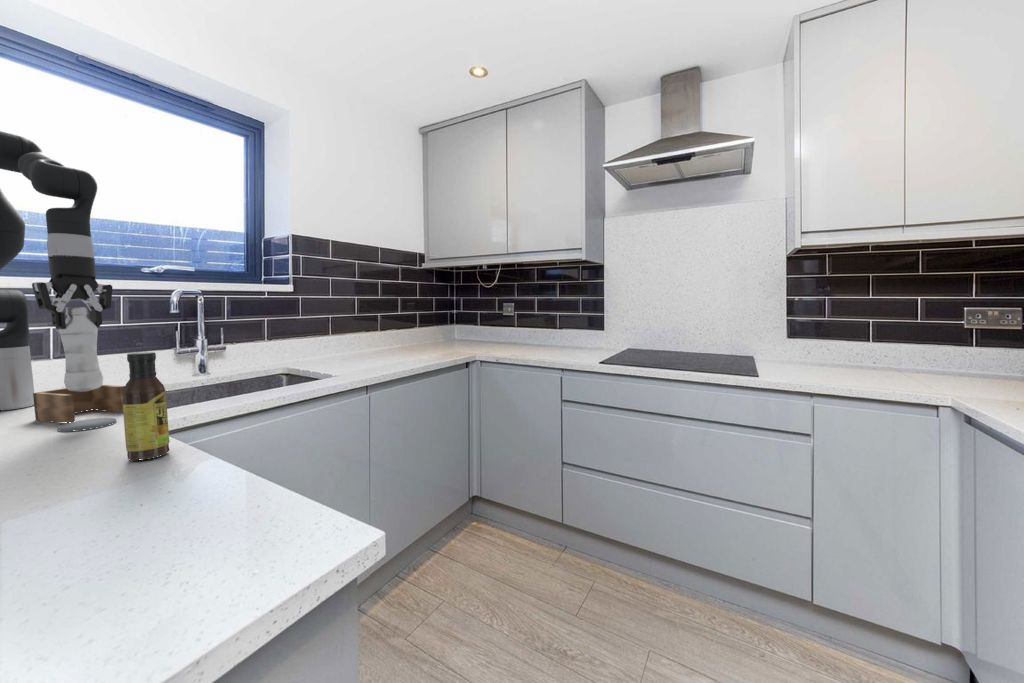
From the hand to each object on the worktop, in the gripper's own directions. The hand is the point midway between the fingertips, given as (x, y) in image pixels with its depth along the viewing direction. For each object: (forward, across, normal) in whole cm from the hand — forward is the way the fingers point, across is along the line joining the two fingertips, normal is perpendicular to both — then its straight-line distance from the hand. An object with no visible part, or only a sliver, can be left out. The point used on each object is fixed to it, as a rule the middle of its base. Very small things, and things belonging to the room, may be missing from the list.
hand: (78, 327), depth 100 cm
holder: (+24, -6, -12) cm, 27 cm away
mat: (+24, 0, 0) cm, 24 cm away
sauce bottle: (+24, +12, +37) cm, 46 cm away
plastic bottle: (+15, 0, 0) cm, 15 cm away
